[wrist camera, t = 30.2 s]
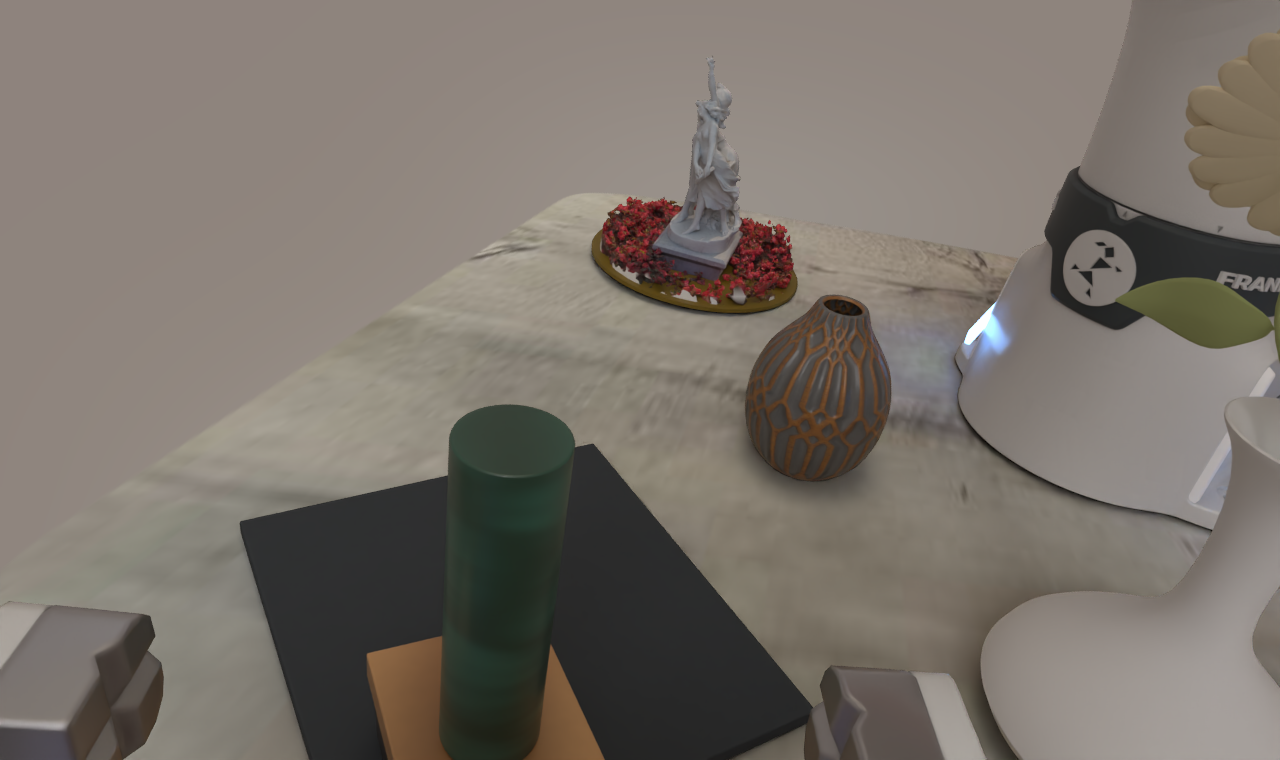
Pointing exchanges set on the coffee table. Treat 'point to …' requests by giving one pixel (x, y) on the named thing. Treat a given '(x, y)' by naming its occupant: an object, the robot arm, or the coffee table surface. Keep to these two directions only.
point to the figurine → (700, 234)
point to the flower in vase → (1234, 553)
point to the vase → (819, 392)
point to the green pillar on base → (491, 607)
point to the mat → (581, 635)
